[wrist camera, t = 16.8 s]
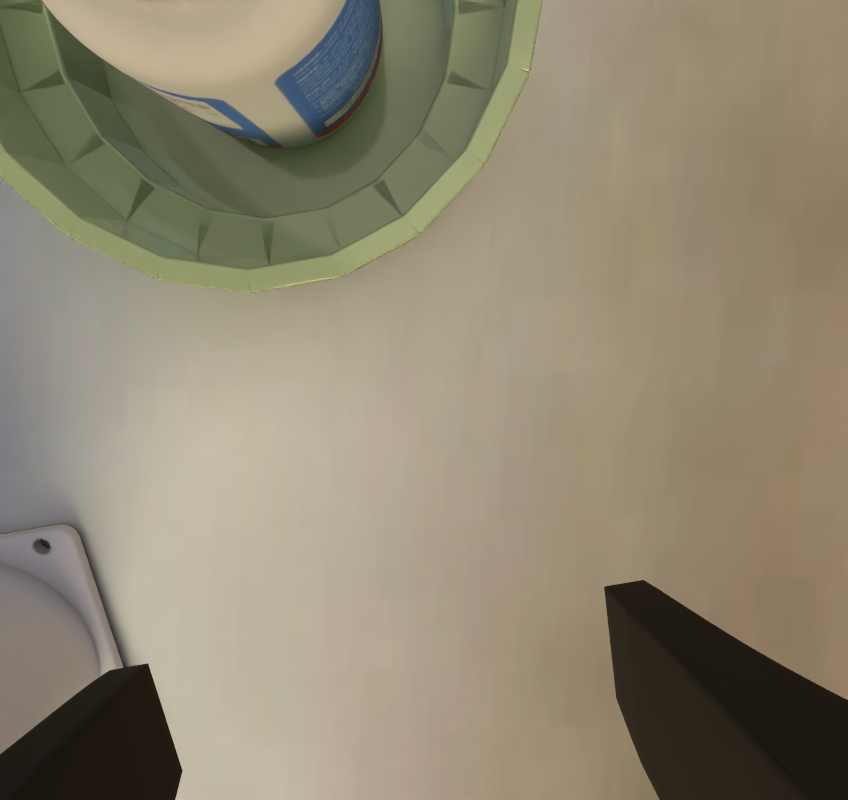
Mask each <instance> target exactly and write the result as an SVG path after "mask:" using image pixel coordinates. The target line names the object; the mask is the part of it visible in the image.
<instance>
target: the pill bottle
mask: <svg viewBox="0 0 848 800" xmlns="http://www.w3.org/2000/svg"><path fill="white" fill-rule="evenodd" d="M42 1H43V2H44V4H45V5H46V7H47V8H48V9H49V10H50V11H51V13H52V14H53V15H54V16H55V17H56V19H57V20H58V21H59V22H60V23H61V24H62V25H63V26H64V27H65V28H66V29H67V30H68V31H69V32H70V33H71V34H72V35H73V36H74V37H75V38H76V39H78V40H79V41H80V42H81V43H82V44H83V45H84V46H86V47H87V48H88V49H90V50H91V51H92V52H94V53H95V54H96V55H98V56H99V57H100V58H102V59H103V60H105V61H106V62H108V63H109V64H111V65H112V66H114V67H115V68H117V69H118V70H120V71H121V72H123V73H124V74H126V75H128V76H129V77H131V78H133V79H134V80H136V81H137V82H139V83H141V84H142V85H144V86H146V87H148V88H150V89H151V90H153V91H155V92H156V93H158V94H160V95H161V96H163V97H165V98H166V99H168V100H170V101H171V102H173V103H175V104H176V105H178V106H180V107H181V108H183V109H185V110H186V111H188V112H190V113H192V114H194V115H195V116H197V117H199V118H200V119H202V120H204V121H205V122H207V123H209V124H211V125H212V126H214V127H216V128H217V129H219V130H221V131H223V132H224V133H226V134H228V135H230V136H232V137H235V138H237V139H239V140H242V141H245V142H248V143H252V144H255V145H259V146H264V147H272V148H292V147H299V146H304V145H308V144H311V143H314V142H317V141H319V140H321V139H323V138H325V137H327V136H329V135H331V134H332V133H334V132H335V131H337V130H338V129H340V128H341V127H342V126H343V125H345V124H346V123H347V122H348V121H349V120H350V119H351V118H352V117H353V115H354V114H355V113H356V112H357V111H358V109H359V108H360V106H361V105H362V104H363V102H364V101H365V99H366V97H367V95H368V93H369V91H370V89H371V87H372V84H373V82H374V79H375V76H376V74H377V70H378V66H379V62H380V56H381V49H382V16H381V8H380V1H379V0H42Z"/></svg>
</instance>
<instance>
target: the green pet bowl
mask: <svg viewBox="0 0 848 800" xmlns="http://www.w3.org/2000/svg"><path fill="white" fill-rule="evenodd" d="M379 1H380V8H381V16H382V49H381V56H380V62H379V66H378V70H377V74H376V76H375V79H374V82H373V84H372V87H371V89H370V91H369V93H368V95H367V97H366V99H365V101H364V102H363V104H362V105H361V106H360V108H359V109H358V111H357V112H356V113H355V114H354V115H353V117H352V118H351V119H350V120H349V121H348V122H347V123H346V124H345V125H343V126H342V127H341V128H340V129H338V130H337V131H335V132H334V133H332V134H331V135H329V136H327V137H325V138H323V139H321V140H319V141H317V142H314V143H311V144H308V145H304V146H299V147H292V148H272V147H264V146H259V145H255V144H252V143H248V142H245V141H242V140H239V139H237V138H235V137H232V136H230V135H228V134H226V133H224V132H223V131H221V130H219V129H217V128H216V127H214V126H212V125H211V124H209V123H207V122H205V121H204V120H202V119H200V118H199V117H197V116H195V115H194V114H192V113H190V112H188V111H186V110H185V109H183V108H181V107H180V106H178V105H176V104H175V103H173V102H171V101H170V100H168V99H166V98H165V97H163V96H161V95H160V94H158V93H156V92H155V91H153V90H151V89H150V88H148V87H146V86H144V85H142V84H141V83H139V82H137V81H136V80H134V79H133V78H131V77H129V76H128V75H126V74H124V73H123V72H121V71H120V70H118V69H117V68H115V67H114V66H112V65H111V64H109V63H108V62H106V61H105V60H103V59H102V58H100V57H99V56H98V55H96V54H95V53H94V52H92V51H91V50H90V49H88V48H87V47H86V46H84V45H83V44H82V43H81V42H80V41H79V40H78V39H76V38H75V37H74V36H73V35H72V34H71V33H70V32H69V31H68V30H67V29H66V28H65V27H64V26H63V25H62V24H61V23H60V22H59V21H58V20H57V19H56V17H55V16H54V15H53V14H52V13H51V11H50V10H49V9H48V8H47V7H46V5H45V4H44V2H43V1H42V0H0V178H1V179H2V180H4V181H5V182H6V183H7V184H8V185H9V186H10V187H12V188H13V189H14V190H15V191H16V192H17V193H18V194H20V195H21V196H22V197H23V198H24V199H25V200H26V201H28V202H29V203H30V204H31V205H32V206H33V207H34V208H35V209H37V210H38V211H39V212H40V213H41V214H42V215H43V216H45V217H46V218H47V219H48V220H49V221H50V222H51V223H53V224H54V225H55V226H56V227H57V228H58V229H59V230H60V231H62V232H63V233H64V234H65V235H66V236H69V237H70V238H71V239H72V240H74V241H77V242H79V243H81V244H83V245H85V246H87V247H89V248H91V249H93V250H96V251H98V252H100V253H102V254H104V255H106V256H108V257H110V258H112V259H115V260H117V261H119V262H121V263H123V264H125V265H127V266H129V267H132V268H134V269H136V270H138V271H140V272H142V273H144V274H146V275H148V276H151V277H153V278H155V279H159V280H162V281H168V282H175V283H182V284H189V285H196V286H203V287H210V288H217V289H224V290H231V291H238V292H245V293H248V292H252V293H254V292H260V291H266V290H272V289H277V288H283V287H289V286H295V285H300V284H306V283H312V282H318V281H323V280H329V279H335V278H338V277H340V276H344V275H346V274H348V273H350V272H352V271H354V270H356V269H358V268H360V267H362V266H363V265H365V264H367V263H369V262H371V261H373V260H374V259H376V258H378V257H380V256H382V255H384V254H386V253H387V252H389V251H391V250H393V249H395V248H397V247H399V246H400V245H402V244H404V243H406V242H408V241H410V240H411V239H413V238H415V237H416V236H417V235H418V234H420V233H421V232H422V231H423V230H424V229H425V228H426V227H427V226H428V225H429V224H430V223H431V222H432V221H433V220H434V218H435V217H436V216H437V215H438V214H439V213H440V212H441V211H442V210H443V209H444V208H445V207H446V206H447V205H448V204H449V203H450V202H451V200H452V199H453V198H454V197H455V196H456V195H457V194H458V193H459V192H460V191H461V190H462V189H463V188H464V187H465V186H466V185H467V184H468V183H469V181H470V180H471V179H472V178H473V177H474V176H475V175H476V174H477V173H478V172H479V171H480V170H481V169H482V168H483V166H484V164H485V163H486V162H487V160H488V158H489V156H490V154H491V152H492V150H493V148H494V146H495V144H496V142H497V140H498V138H499V136H500V134H501V131H502V129H503V127H504V125H505V123H506V121H507V119H508V117H509V115H510V113H511V111H512V109H513V107H514V105H515V103H516V101H517V99H518V97H519V95H520V93H521V91H522V89H523V86H524V84H525V82H526V80H527V78H528V76H529V72H530V70H531V65H532V59H533V54H534V48H535V42H536V36H537V30H538V24H539V19H540V13H541V7H542V1H543V0H379Z"/></svg>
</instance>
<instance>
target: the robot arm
mask: <svg viewBox="0 0 848 800" xmlns="http://www.w3.org/2000/svg"><path fill="white" fill-rule="evenodd" d="M40 539H44V540H46V541H48V543H49V544H50V547H51V549H48V548H45V547H44V546H43V545H42V544H41V542H40ZM604 589H605V598H606V607H607V616H608V625H609V634H610V644H611V653H612V662H613V671H614V680H615V689H616V698H617V701H618V704H619V706H620V709H621V712H622V714H623V717H624V720H625V722H626V725H627V728H628V730H629V733H630V736H631V738H632V741H633V743H634V746H635V748H636V751H637V753H638V756H639V759H640V761H641V764H642V766H643V768H644V770H645V772H646V774H647V776H648V778H649V779H650V781H651V783H652V785H653V787H654V789H655V791H656V793H657V795H658V797H659V799H660V800H848V700H846V699H844V698H842V697H840V696H838V695H836V694H834V693H832V692H830V691H829V690H827V689H825V688H823V687H821V686H819V685H817V684H816V683H814V682H812V681H810V680H808V679H806V678H804V677H802V676H801V675H799V674H797V673H795V672H793V671H791V670H789V669H788V668H786V667H784V666H782V665H780V664H779V663H777V662H775V661H773V660H772V659H770V658H768V657H766V656H765V655H763V654H761V653H759V652H758V651H756V650H754V649H753V648H751V647H749V646H748V645H746V644H744V643H742V642H741V641H739V640H738V639H736V638H734V637H733V636H731V635H729V634H728V633H726V632H724V631H723V630H721V629H720V628H718V627H716V626H715V625H713V624H712V623H710V622H708V621H707V620H705V619H704V618H702V617H701V616H699V615H697V614H696V613H694V612H693V611H691V610H690V609H688V608H687V607H685V606H683V605H682V604H680V603H679V602H677V601H676V600H674V599H673V598H671V597H670V596H668V595H666V594H665V593H663V592H662V591H660V590H659V589H657V588H656V587H654V586H652V585H651V584H649V583H647V582H646V581H644V580H641V581H635V582H629V583H623V584H617V585H611V586H605V587H604ZM181 774H182V768H181V765H180V762H179V759H178V756H177V753H176V749H175V746H174V743H173V740H172V737H171V734H170V731H169V728H168V725H167V721H166V718H165V715H164V712H163V709H162V706H161V703H160V700H159V696H158V693H157V690H156V687H155V684H154V681H153V678H152V675H151V672H150V668H149V665H148V664H143V665H137V666H131V667H125V668H123V665H122V662H121V659H120V656H119V653H118V650H117V647H116V644H115V641H114V638H113V635H112V632H111V629H110V626H109V623H108V620H107V617H106V614H105V611H104V608H103V605H102V602H101V599H100V596H99V593H98V590H97V587H96V584H95V580H94V577H93V574H92V571H91V568H90V565H89V562H88V559H87V556H86V553H85V550H84V547H83V544H82V541H81V538H80V536H79V534H78V532H77V531H76V530H75V529H74V528H73V527H71V526H68V525H66V524H58V525H52V526H46V527H40V528H34V529H29V530H23V531H17V532H11V533H5V534H0V800H175V798H176V794H177V790H178V786H179V782H180V778H181Z"/></svg>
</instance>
